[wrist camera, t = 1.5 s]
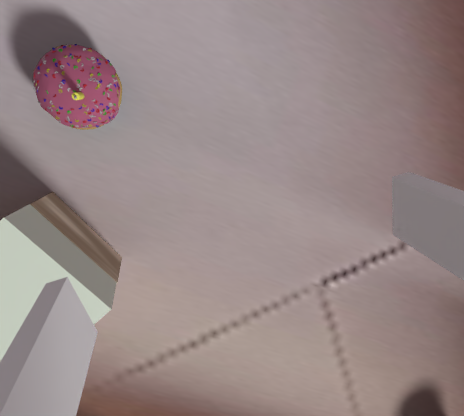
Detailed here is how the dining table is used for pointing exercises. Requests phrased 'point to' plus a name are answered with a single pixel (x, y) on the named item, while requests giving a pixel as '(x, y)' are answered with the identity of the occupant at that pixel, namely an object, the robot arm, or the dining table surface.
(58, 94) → the cupcake
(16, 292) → the tower top
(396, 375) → the dining table surface
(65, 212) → the tower base
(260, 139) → the dining table surface
